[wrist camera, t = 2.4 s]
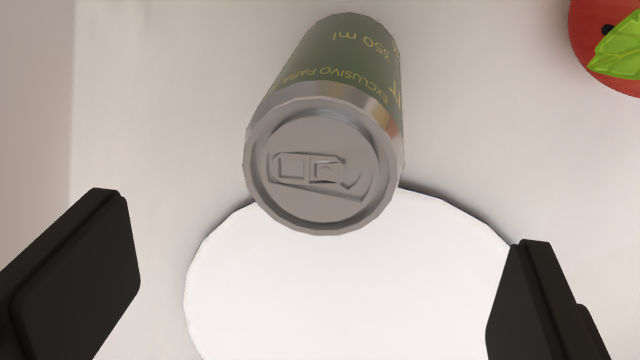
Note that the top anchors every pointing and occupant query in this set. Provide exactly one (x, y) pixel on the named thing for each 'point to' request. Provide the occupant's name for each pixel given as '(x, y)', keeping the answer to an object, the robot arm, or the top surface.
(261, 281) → the plate
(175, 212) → the top surface
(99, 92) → the top surface
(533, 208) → the top surface
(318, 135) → the beer can
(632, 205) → the top surface
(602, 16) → the apple
